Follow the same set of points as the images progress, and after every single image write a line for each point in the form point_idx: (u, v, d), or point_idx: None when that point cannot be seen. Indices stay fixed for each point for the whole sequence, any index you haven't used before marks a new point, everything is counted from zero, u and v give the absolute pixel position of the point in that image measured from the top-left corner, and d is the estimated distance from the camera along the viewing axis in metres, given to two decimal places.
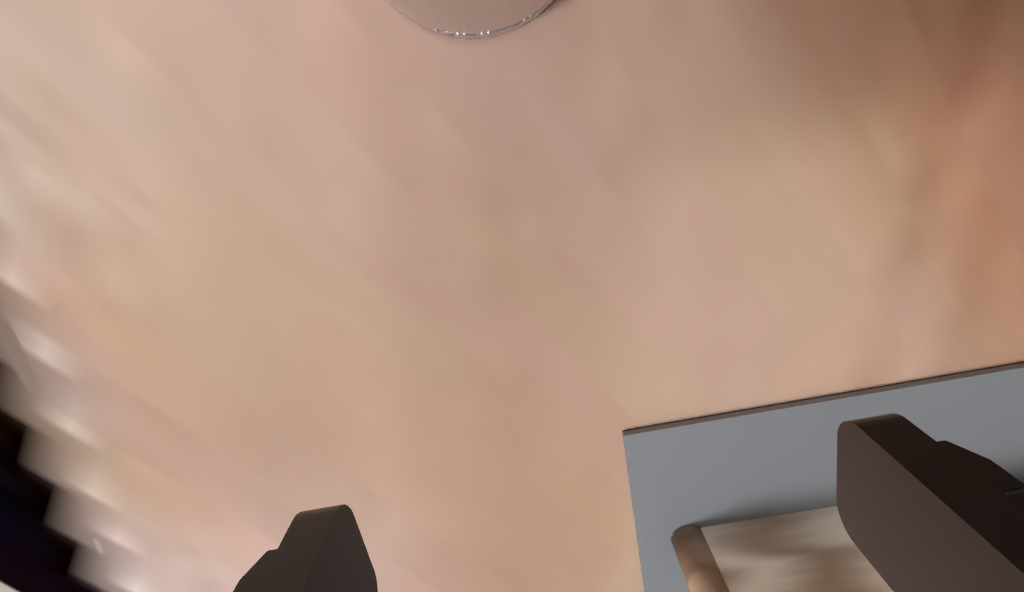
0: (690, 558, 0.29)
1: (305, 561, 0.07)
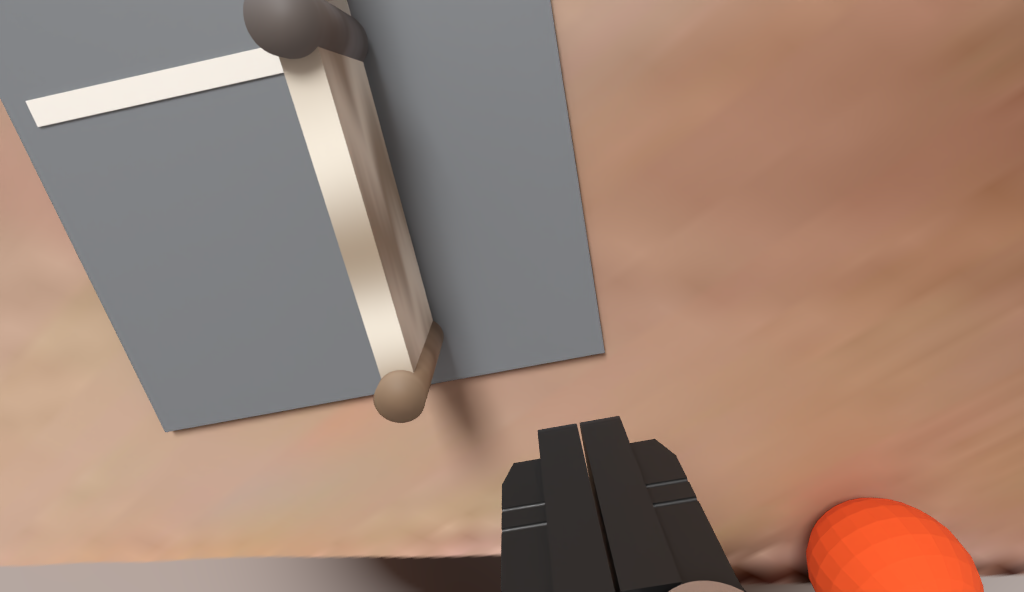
0: None
1: (576, 462, 0.08)
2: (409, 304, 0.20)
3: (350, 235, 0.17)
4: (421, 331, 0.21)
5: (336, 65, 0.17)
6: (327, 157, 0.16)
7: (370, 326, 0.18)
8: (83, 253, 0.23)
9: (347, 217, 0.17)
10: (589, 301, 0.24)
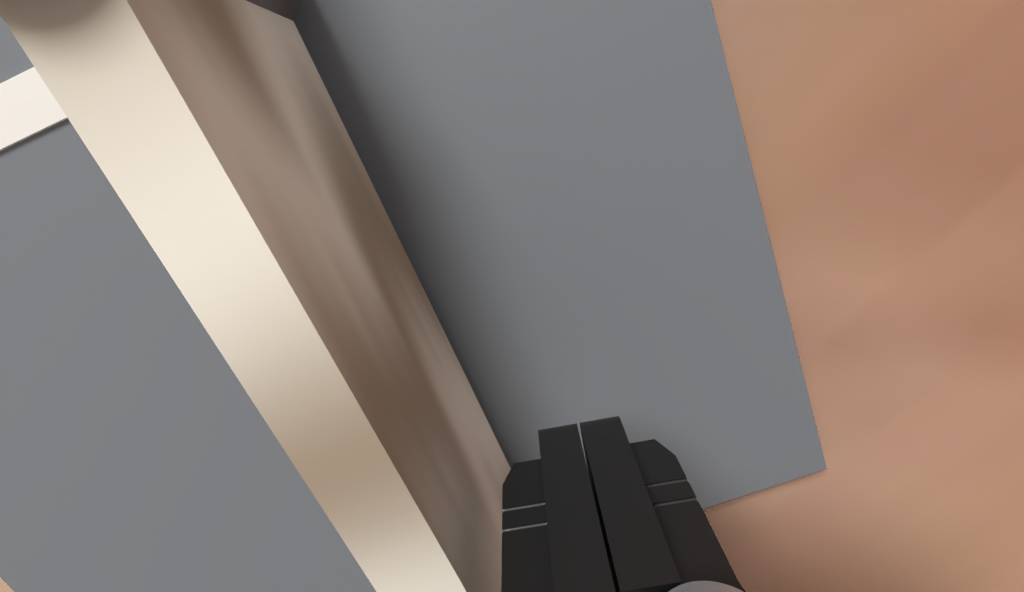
0: None
1: (576, 462, 0.08)
2: (476, 502, 0.09)
3: (312, 433, 0.07)
4: None
5: (193, 5, 0.06)
6: (205, 253, 0.06)
7: None
8: None
9: (295, 391, 0.06)
10: (792, 389, 0.13)
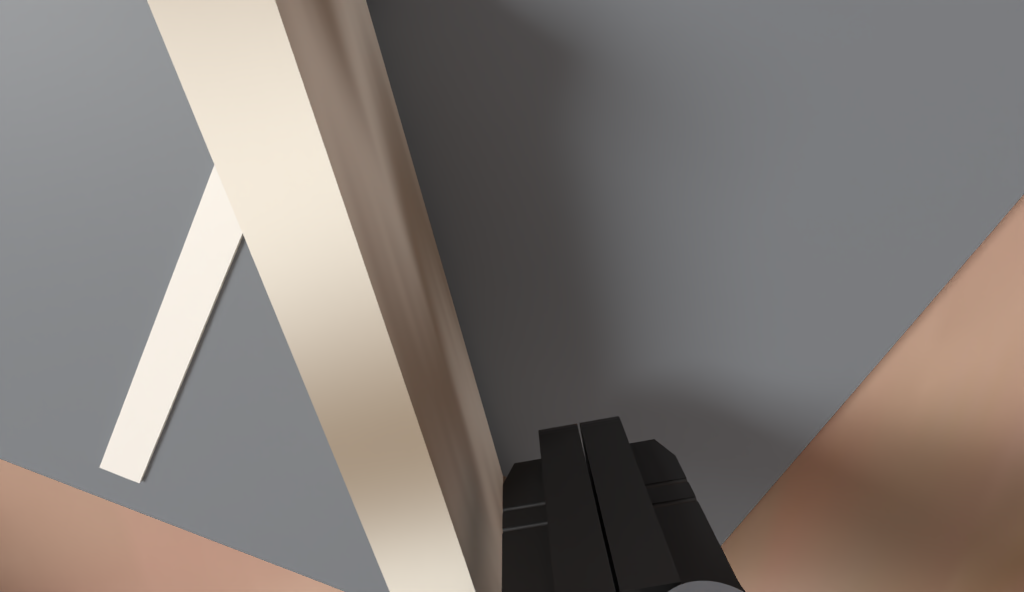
0: None
1: (577, 462, 0.08)
2: (479, 498, 0.09)
3: (352, 407, 0.07)
4: (498, 532, 0.10)
5: None
6: (281, 211, 0.06)
7: None
8: (322, 574, 0.14)
9: (343, 363, 0.06)
10: None
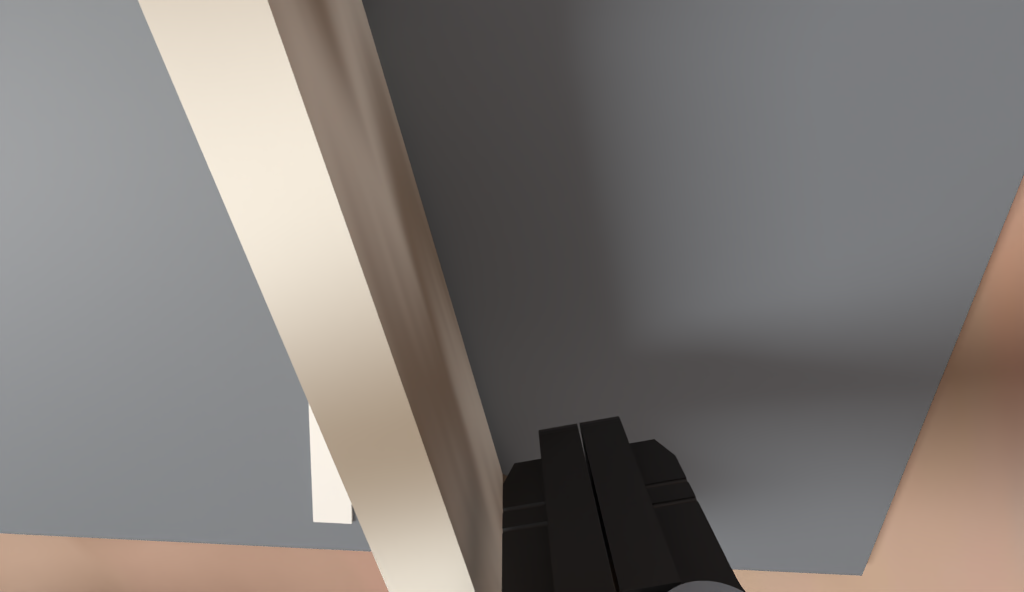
0: None
1: (577, 462, 0.08)
2: (478, 496, 0.09)
3: (351, 407, 0.07)
4: (497, 531, 0.10)
5: None
6: (276, 211, 0.06)
7: None
8: None
9: (340, 363, 0.06)
10: None
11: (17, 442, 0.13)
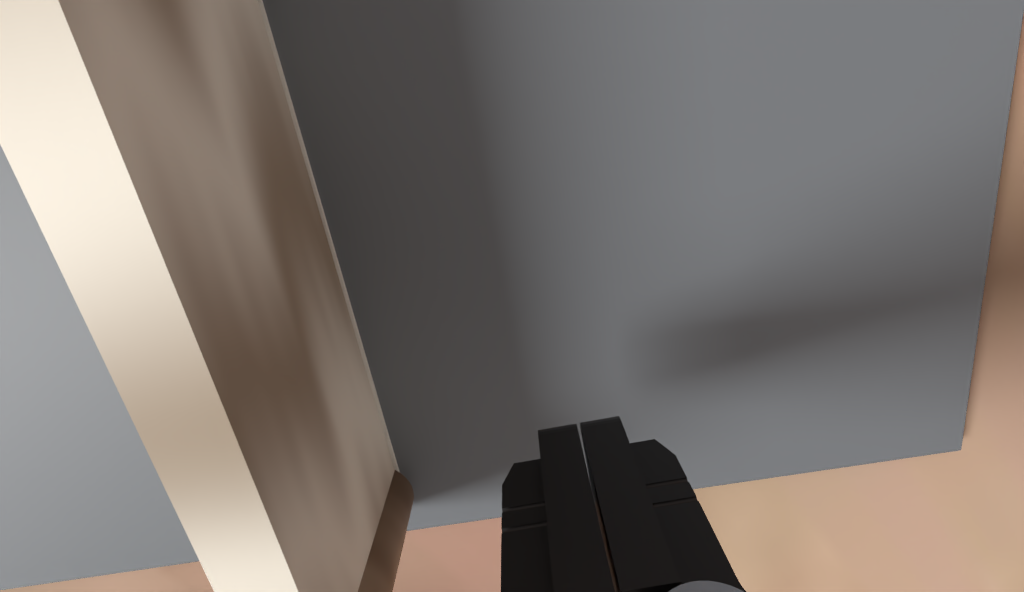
0: None
1: (576, 462, 0.08)
2: (335, 491, 0.09)
3: (158, 392, 0.07)
4: (364, 526, 0.10)
5: None
6: (70, 190, 0.06)
7: (226, 586, 0.08)
8: None
9: (145, 348, 0.06)
10: None
11: (86, 487, 0.14)
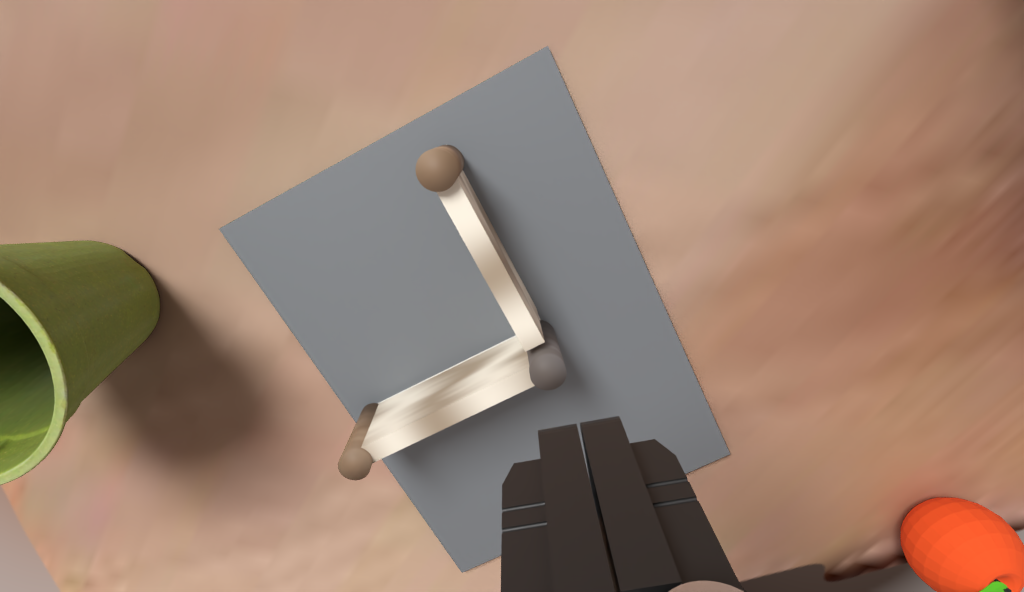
0: (452, 149, 0.28)
1: (576, 462, 0.08)
2: None
3: (444, 415, 0.29)
4: None
5: None
6: (484, 397, 0.29)
7: (393, 435, 0.30)
8: (402, 481, 0.37)
9: (455, 412, 0.29)
10: (713, 427, 0.37)
11: (328, 310, 0.33)
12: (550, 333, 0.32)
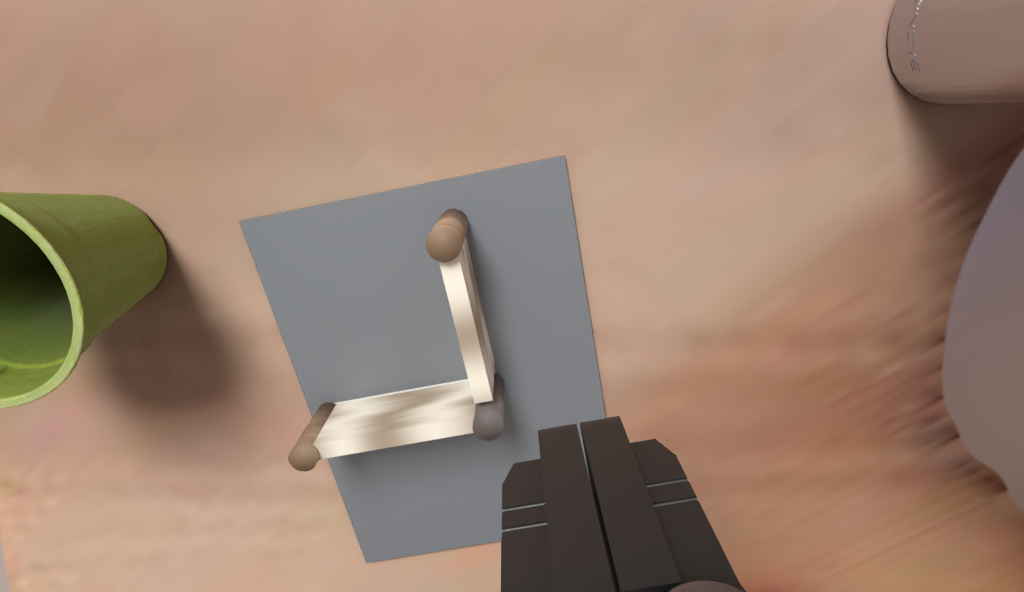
0: (461, 220, 0.33)
1: (576, 462, 0.08)
2: None
3: (392, 436, 0.34)
4: None
5: None
6: (430, 431, 0.34)
7: (343, 441, 0.34)
8: (336, 474, 0.41)
9: (401, 436, 0.34)
10: None
11: (315, 314, 0.37)
12: (500, 388, 0.36)
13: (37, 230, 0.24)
